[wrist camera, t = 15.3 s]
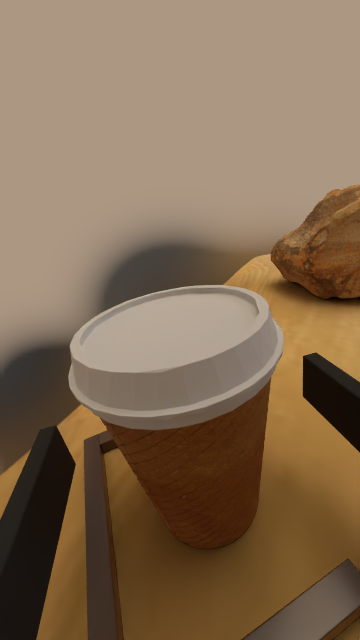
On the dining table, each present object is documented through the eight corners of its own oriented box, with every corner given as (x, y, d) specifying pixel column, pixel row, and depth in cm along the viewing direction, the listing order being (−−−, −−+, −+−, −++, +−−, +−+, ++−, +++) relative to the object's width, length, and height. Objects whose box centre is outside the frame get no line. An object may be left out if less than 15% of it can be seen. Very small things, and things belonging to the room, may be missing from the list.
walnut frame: (208, 396, 23) (206, 387, 23) (374, 604, 10) (377, 592, 10) (87, 448, 20) (83, 439, 20) (102, 839, 7) (91, 835, 7)
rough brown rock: (278, 273, 58) (269, 206, 53) (364, 259, 51) (364, 179, 45) (270, 317, 40) (254, 220, 34) (405, 306, 32) (414, 179, 26)
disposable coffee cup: (107, 579, 12) (-5, 390, 8) (154, 428, 21) (114, 294, 16) (312, 608, 10) (323, 373, 6) (272, 426, 19) (263, 273, 14)
